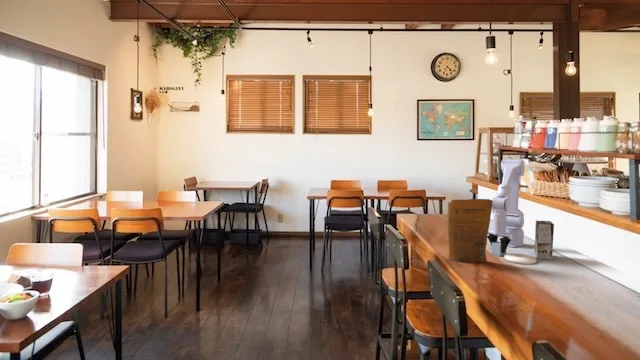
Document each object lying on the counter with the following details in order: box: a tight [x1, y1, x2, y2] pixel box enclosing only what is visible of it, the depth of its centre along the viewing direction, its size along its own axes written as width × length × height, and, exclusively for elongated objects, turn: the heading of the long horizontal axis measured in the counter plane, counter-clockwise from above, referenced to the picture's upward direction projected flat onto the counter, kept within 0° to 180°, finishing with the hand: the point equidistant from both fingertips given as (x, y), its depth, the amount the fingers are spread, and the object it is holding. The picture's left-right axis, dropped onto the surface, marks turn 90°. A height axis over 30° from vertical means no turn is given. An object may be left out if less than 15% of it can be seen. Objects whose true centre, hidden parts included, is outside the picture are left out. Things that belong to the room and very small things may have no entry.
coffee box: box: [533, 220, 555, 261], centre depth 192 cm, size 9×6×16 cm
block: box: [490, 240, 507, 257], centre depth 196 cm, size 4×4×6 cm
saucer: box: [503, 253, 537, 265], centre depth 187 cm, size 13×13×1 cm
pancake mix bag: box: [446, 198, 493, 263], centre depth 185 cm, size 7×19×28 cm, turn 81°
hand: (498, 251), depth 196 cm, fingers closed on block, 4 cm apart
